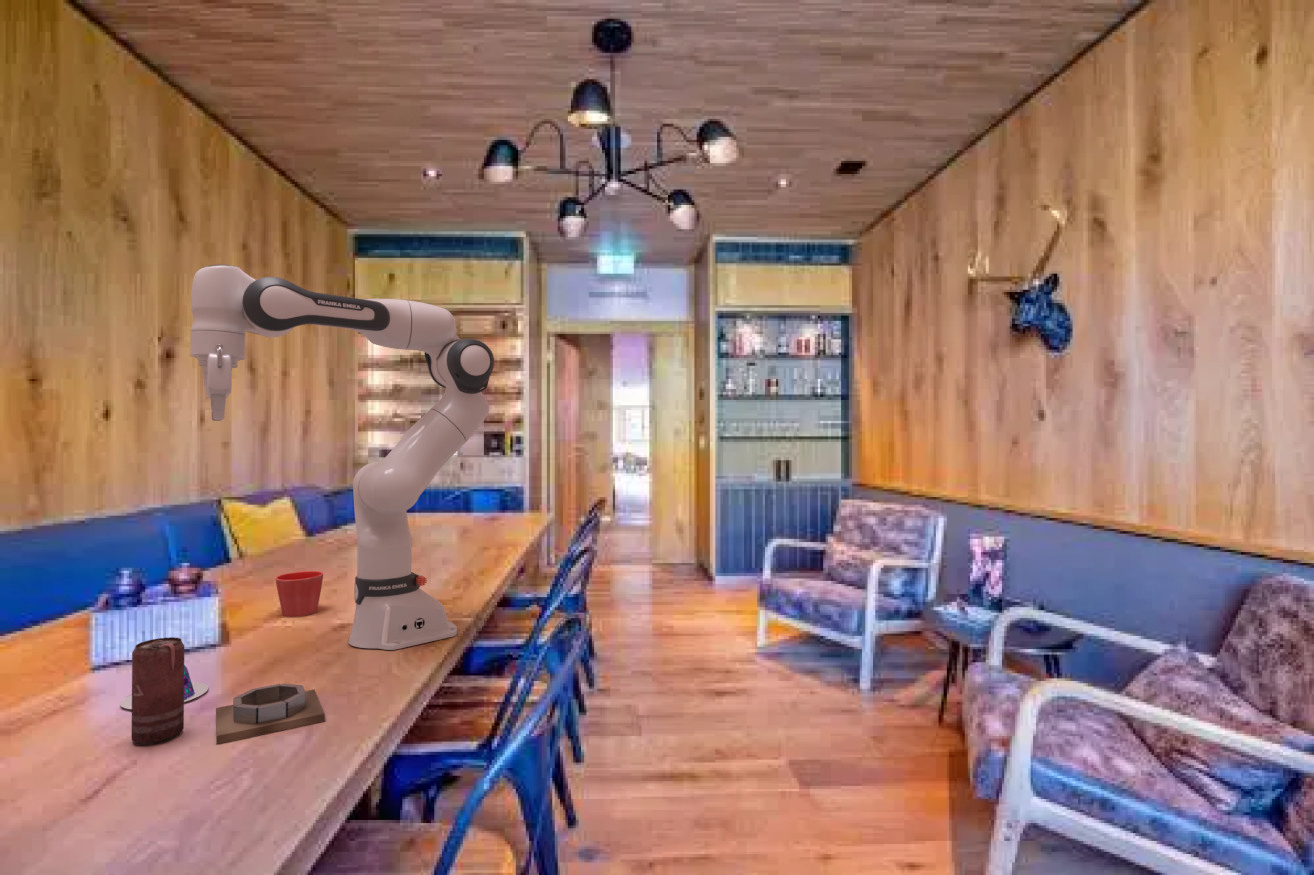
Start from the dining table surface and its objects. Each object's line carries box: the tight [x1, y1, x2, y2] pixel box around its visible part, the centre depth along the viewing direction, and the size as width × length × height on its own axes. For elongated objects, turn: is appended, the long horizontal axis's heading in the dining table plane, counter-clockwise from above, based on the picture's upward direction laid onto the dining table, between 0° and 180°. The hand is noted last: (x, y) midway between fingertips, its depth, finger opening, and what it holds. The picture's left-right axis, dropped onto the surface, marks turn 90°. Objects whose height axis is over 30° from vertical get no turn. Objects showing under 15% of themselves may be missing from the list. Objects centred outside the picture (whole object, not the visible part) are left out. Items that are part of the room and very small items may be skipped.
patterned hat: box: [119, 664, 209, 710], centre depth 111 cm, size 12×12×5 cm
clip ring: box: [232, 683, 306, 725], centre depth 103 cm, size 10×10×2 cm
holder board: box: [215, 689, 326, 745], centre depth 103 cm, size 14×12×1 cm
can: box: [131, 636, 185, 747], centre depth 96 cm, size 6×6×14 cm
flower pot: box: [275, 570, 324, 618], centre depth 166 cm, size 11×11×10 cm
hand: (217, 420), depth 127 cm, fingers open, 8 cm apart
